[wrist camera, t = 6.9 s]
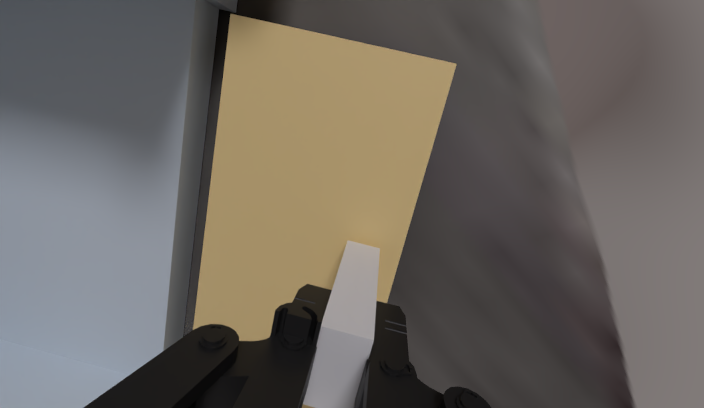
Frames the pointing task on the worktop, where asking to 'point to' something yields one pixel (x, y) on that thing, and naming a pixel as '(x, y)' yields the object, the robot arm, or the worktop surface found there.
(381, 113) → the panel
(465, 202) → the worktop surface
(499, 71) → the worktop surface
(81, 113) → the pale blue open box
